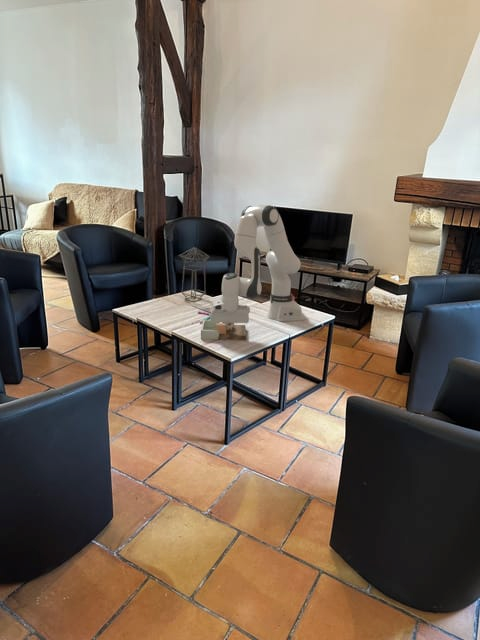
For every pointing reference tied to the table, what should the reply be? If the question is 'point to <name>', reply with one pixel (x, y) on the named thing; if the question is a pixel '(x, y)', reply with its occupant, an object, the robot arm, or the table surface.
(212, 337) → the tray
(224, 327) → the tile
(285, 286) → the robot arm
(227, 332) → the brown wooden board
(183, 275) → the geometric lantern
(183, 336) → the table surface
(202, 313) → the squeegee
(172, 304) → the table surface
